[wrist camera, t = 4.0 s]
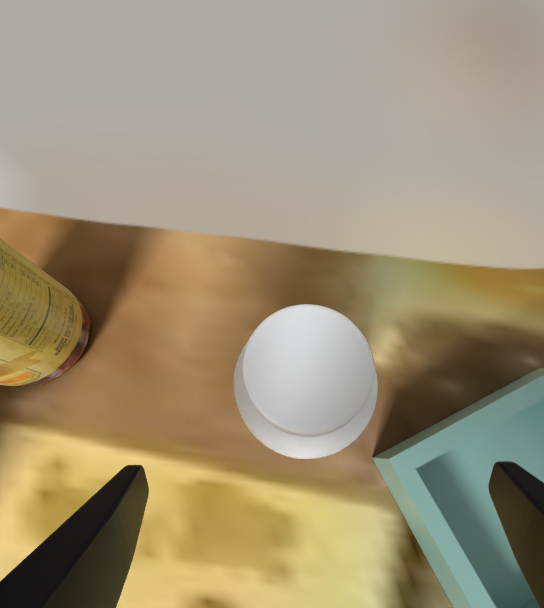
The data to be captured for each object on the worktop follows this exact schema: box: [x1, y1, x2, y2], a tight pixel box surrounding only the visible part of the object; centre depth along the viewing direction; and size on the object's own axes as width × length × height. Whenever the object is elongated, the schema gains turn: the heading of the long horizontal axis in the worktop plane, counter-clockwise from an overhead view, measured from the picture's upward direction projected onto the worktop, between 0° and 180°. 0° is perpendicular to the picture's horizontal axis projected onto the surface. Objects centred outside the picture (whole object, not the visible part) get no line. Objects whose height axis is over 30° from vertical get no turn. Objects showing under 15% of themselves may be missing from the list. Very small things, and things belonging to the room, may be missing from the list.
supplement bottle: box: [234, 304, 378, 459], centre depth 15 cm, size 5×5×10 cm
